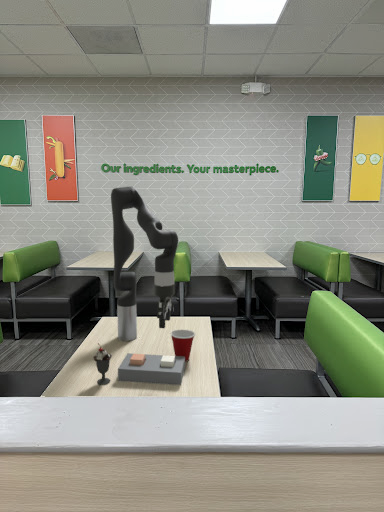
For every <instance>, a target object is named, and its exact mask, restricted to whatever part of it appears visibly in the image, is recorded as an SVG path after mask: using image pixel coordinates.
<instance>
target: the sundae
mask: <svg viewBox="0 0 384 512" xmlns="http://www.w3.org/2000/svg"><path fill="white" fill-rule="evenodd" d="M97 345H99V347H100V348H98V350H97V352H96V354H95V355H94V356H93V361H95V364H96V368H97V372H98V373H99V374H101V378H99V379H98V380H96V384H98V385H99V386H105V385H106V386H107V385H108V384H110V382H111V379H110V378H108V377H106V373H108V371H109V368H110V364H111V363H110V361H111V359H112V358H113V357H112V356H113V355H112V354H110V353H108V352H107V350H105V349H103V348H102V346H101V345H100V343H97Z"/></svg>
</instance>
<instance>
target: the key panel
mask: <svg viewBox="0 0 384 512" xmlns="http://www.w3.org/2000/svg"><path fill="white" fill-rule="evenodd" d="M133 354H134V353H129V352H128V353H127V354H126V355H125V357H124V359H122V361H121V363H120V364H119V367H118V368H117V381H118V382H125V383H127V382H128V383H145V384H155V385H156V384H157V385H159V384H160V385H173V386H181V385H182V382H183V377H184V375H185V368H186V361H185V357H184V356H175V355H174V356H175V366H174V367H161V359H162V357H163V355H164V354H148V353H147V354H145V353H144V354H145V363H144V365H130V359H131V357H132V355H133ZM165 356H168V355H167V354H166V355H165Z"/></svg>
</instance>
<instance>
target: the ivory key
mask: <svg viewBox="0 0 384 512" xmlns="http://www.w3.org/2000/svg"><path fill="white" fill-rule="evenodd" d="M162 355H163V357H162V359H161V367H174V366H175V355H167V356H165V355H164V354H162Z"/></svg>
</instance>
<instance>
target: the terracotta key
mask: <svg viewBox="0 0 384 512" xmlns="http://www.w3.org/2000/svg"><path fill="white" fill-rule="evenodd" d="M132 354H133V355H132V357H131V359H130V365H144V363H145V353H132Z"/></svg>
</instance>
